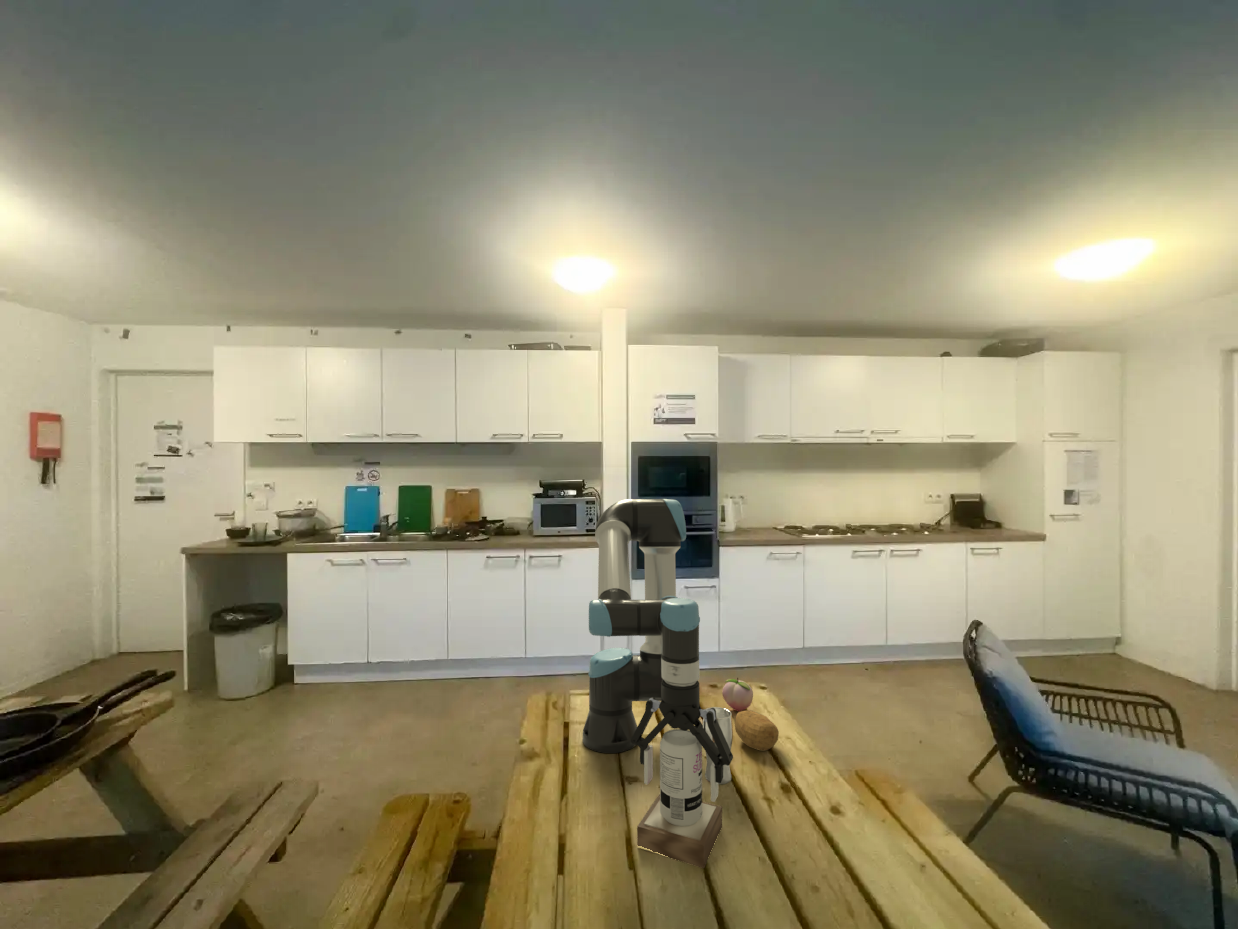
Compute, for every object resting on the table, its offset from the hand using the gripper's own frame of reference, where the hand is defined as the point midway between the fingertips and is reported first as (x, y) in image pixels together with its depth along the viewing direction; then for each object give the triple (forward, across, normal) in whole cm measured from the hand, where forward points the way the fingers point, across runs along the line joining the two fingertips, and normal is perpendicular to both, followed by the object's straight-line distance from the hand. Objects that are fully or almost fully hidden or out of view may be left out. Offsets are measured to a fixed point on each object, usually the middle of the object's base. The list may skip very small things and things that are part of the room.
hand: (680, 789), depth 106 cm
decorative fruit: (+10, -3, +63) cm, 64 cm away
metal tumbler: (+9, +1, +24) cm, 26 cm away
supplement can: (+5, 0, 0) cm, 5 cm away
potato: (+9, +6, +43) cm, 44 cm away
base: (+9, 0, 0) cm, 9 cm away
